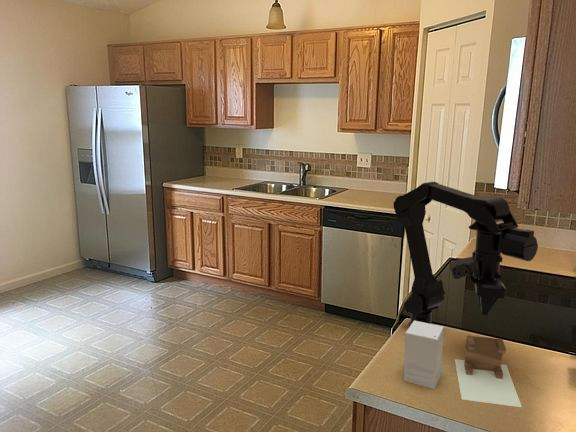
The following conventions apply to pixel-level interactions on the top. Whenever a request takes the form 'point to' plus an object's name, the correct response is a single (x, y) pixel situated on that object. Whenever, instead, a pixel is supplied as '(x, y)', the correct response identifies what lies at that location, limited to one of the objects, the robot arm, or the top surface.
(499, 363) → the footstool
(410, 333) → the supplement box
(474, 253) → the robot arm
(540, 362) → the top surface
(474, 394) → the mat
